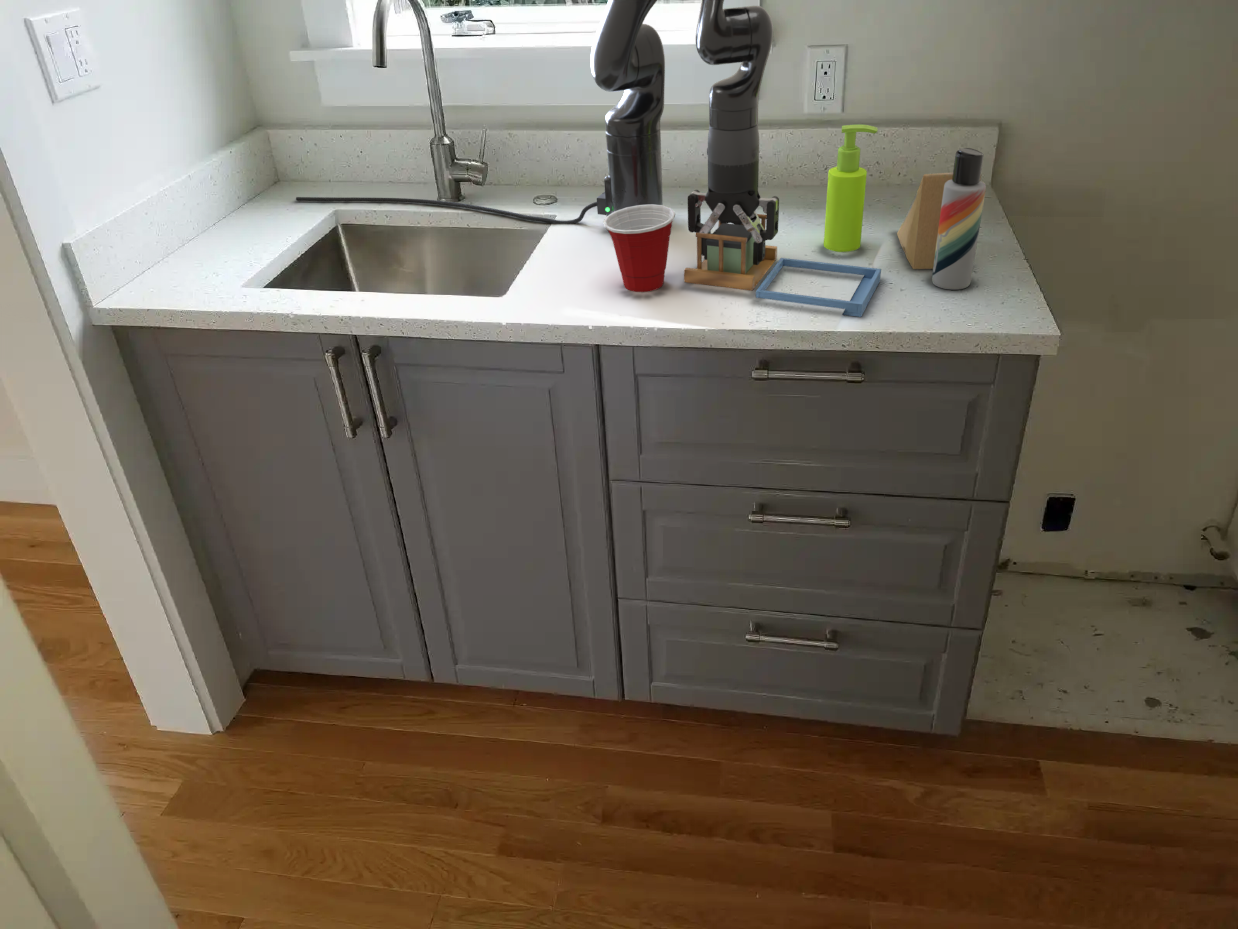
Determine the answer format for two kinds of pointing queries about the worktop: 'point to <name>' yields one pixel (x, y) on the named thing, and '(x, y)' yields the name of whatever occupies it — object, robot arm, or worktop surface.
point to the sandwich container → (923, 221)
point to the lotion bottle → (959, 222)
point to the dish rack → (720, 277)
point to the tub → (730, 249)
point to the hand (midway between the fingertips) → (732, 260)
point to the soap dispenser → (846, 195)
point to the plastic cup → (641, 244)
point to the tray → (851, 307)
